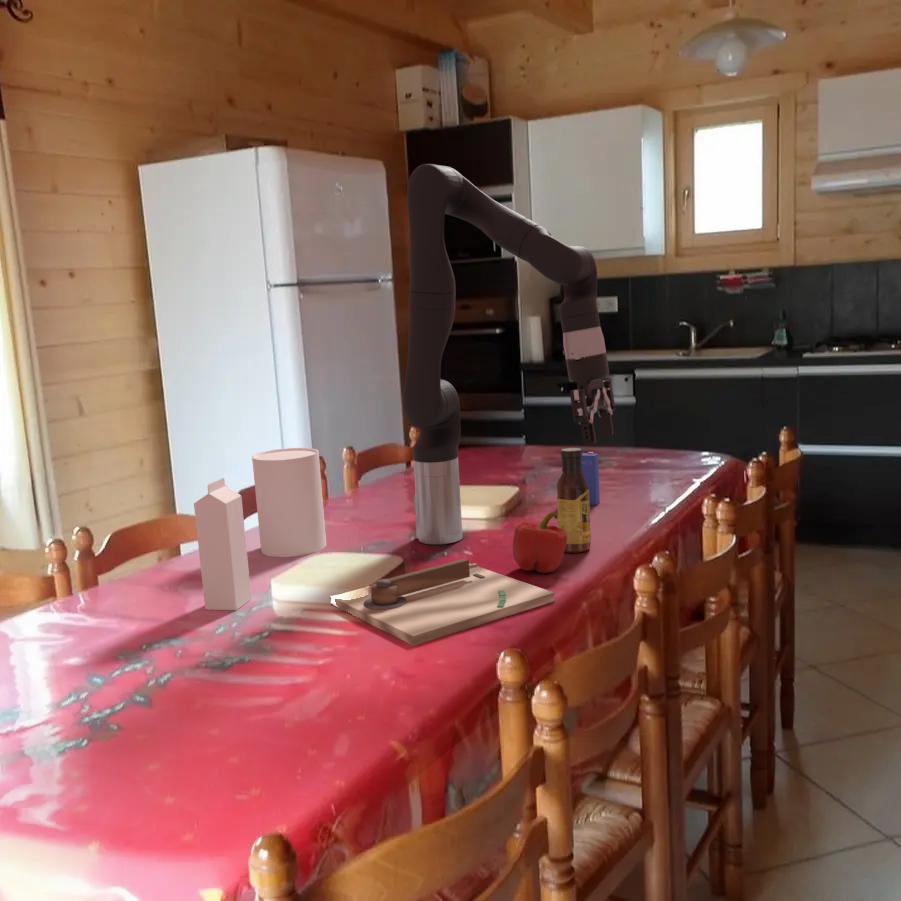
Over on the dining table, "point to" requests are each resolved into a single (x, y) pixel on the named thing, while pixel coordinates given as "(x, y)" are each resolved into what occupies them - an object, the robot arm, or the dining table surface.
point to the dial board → (449, 606)
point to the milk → (222, 548)
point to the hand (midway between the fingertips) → (599, 439)
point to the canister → (289, 501)
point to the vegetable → (539, 545)
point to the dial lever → (419, 581)
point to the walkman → (591, 475)
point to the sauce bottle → (573, 502)
